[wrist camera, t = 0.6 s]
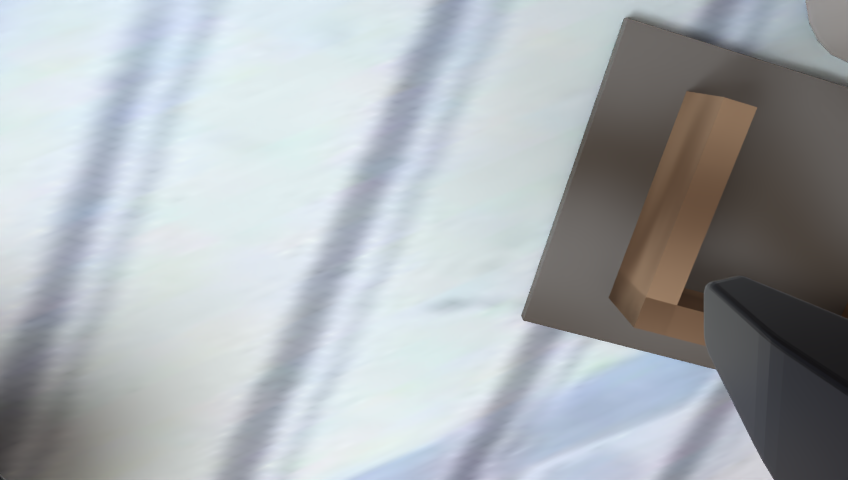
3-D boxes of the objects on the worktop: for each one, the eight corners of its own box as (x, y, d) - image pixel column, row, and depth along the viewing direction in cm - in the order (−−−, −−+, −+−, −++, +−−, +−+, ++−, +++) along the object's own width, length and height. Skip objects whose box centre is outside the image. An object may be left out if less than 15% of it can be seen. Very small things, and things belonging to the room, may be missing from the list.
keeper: (884, 408, 25) (946, 454, 22) (521, 316, 23) (538, 352, 21) (1020, 143, 23) (1108, 157, 20) (624, 18, 21) (659, 14, 18)
